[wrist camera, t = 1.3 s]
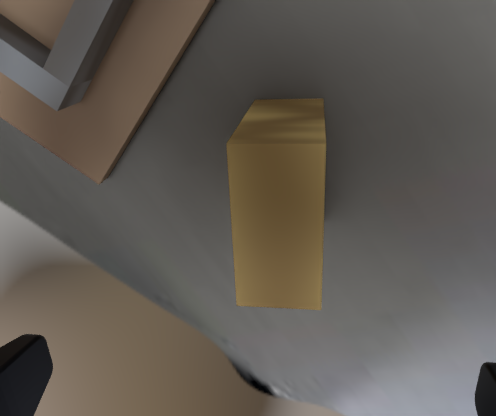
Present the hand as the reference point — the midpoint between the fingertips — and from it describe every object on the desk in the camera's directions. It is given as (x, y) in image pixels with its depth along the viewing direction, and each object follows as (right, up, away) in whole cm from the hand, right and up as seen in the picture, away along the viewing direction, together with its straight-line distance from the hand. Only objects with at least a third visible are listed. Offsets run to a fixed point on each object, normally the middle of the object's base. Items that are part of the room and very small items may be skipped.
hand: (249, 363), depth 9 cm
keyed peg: (+2, +5, +12) cm, 13 cm away
